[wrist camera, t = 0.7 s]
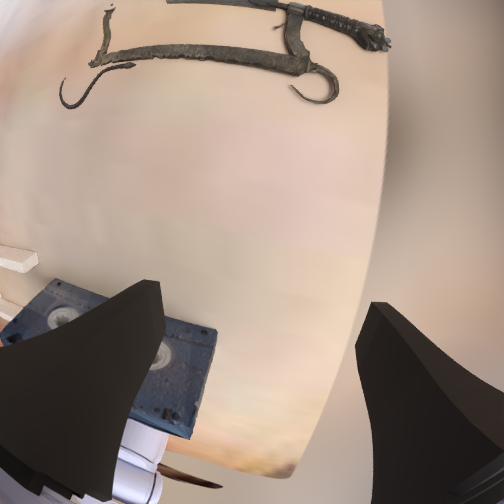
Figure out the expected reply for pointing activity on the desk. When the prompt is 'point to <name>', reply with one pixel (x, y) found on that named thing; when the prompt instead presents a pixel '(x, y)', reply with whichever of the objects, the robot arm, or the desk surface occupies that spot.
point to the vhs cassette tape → (161, 371)
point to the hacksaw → (288, 64)
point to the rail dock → (16, 262)
